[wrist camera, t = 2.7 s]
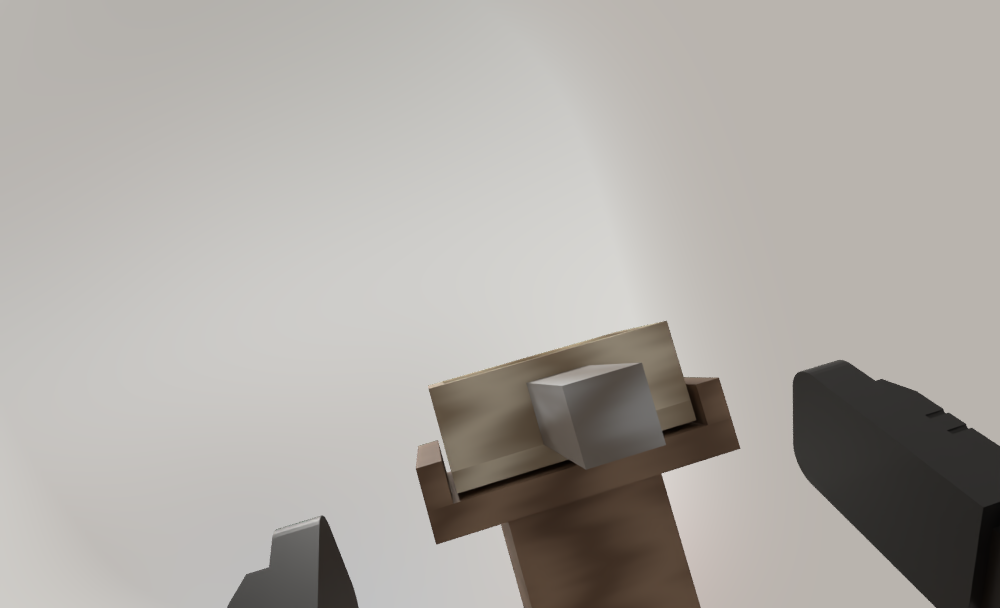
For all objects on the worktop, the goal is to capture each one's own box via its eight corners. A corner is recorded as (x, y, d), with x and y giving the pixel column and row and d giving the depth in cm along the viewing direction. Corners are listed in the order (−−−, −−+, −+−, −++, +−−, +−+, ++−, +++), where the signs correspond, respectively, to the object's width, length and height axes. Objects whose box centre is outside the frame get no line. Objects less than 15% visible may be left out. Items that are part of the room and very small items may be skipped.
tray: (468, 537, 23) (429, 394, 24) (450, 467, 41) (428, 385, 41) (790, 436, 25) (748, 302, 25) (639, 410, 42) (616, 332, 43)
